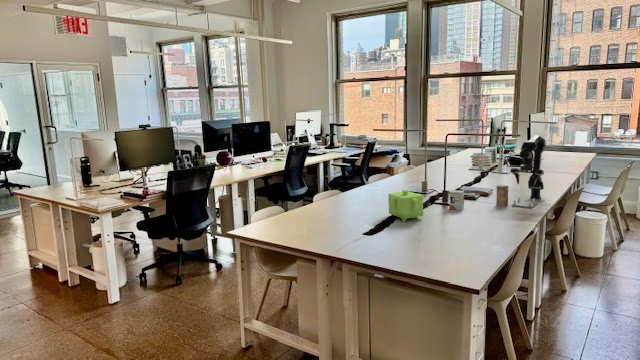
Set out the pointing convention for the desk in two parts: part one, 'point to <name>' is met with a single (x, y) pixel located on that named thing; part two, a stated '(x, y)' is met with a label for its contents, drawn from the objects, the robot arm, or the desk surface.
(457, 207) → the ink box
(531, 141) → the robot arm
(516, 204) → the peg plate
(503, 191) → the walnut block
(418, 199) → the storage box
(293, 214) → the desk surface
